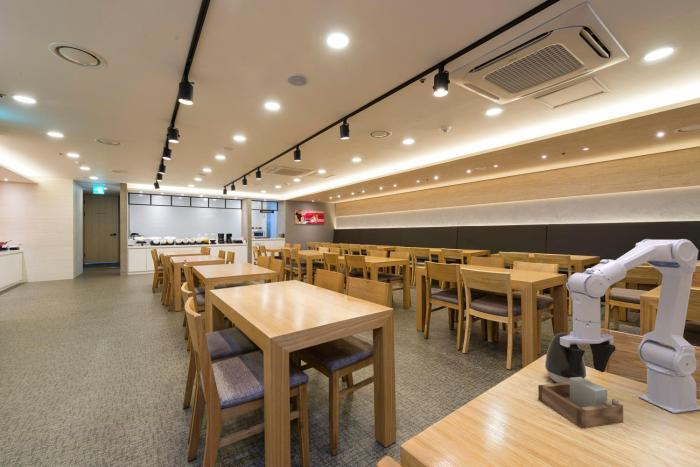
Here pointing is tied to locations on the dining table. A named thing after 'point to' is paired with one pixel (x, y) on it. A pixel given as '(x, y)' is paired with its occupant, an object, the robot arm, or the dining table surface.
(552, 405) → the wooden rimmed tray
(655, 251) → the robot arm
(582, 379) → the grey block
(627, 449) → the dining table surface
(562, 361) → the dark egg-shaped dome
